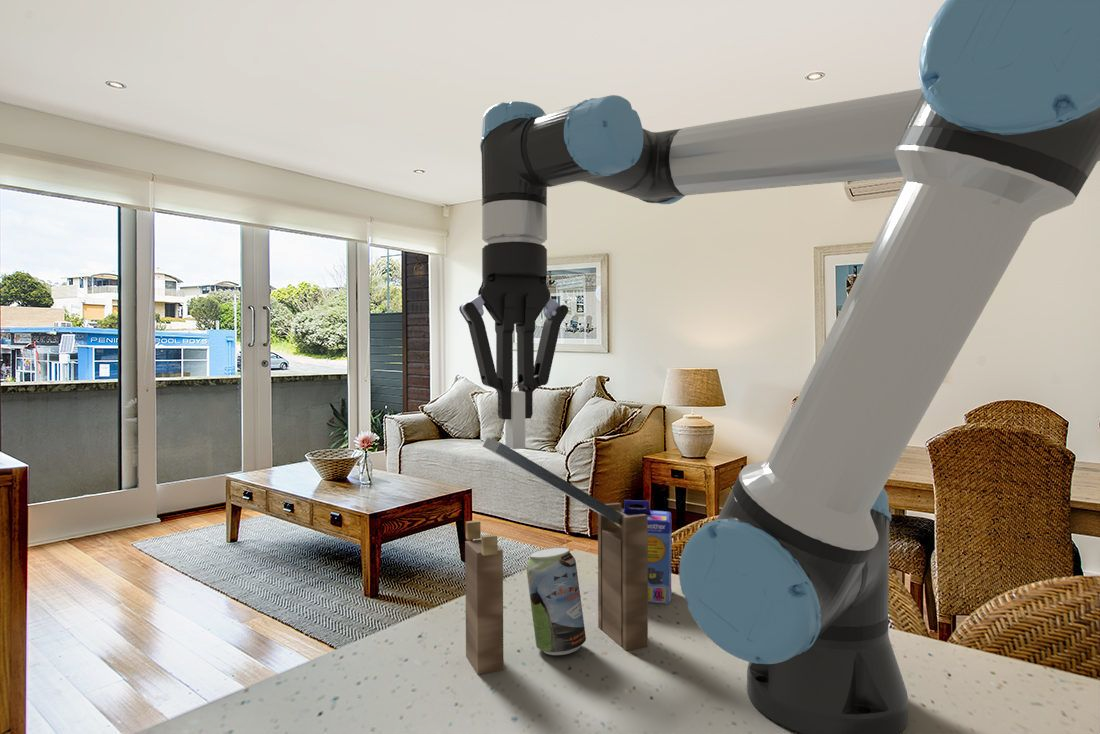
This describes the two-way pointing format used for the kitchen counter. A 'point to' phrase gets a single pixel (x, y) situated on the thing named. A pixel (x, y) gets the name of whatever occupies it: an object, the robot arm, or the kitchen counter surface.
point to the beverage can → (555, 601)
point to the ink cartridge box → (656, 550)
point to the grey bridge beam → (554, 481)
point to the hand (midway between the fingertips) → (515, 446)
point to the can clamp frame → (616, 589)
